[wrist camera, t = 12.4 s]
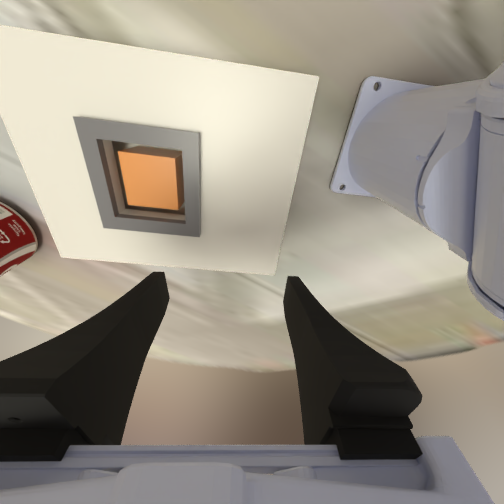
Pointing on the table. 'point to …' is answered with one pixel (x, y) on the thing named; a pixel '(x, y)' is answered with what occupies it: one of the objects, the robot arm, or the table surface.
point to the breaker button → (153, 177)
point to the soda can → (14, 239)
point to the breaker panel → (156, 136)
